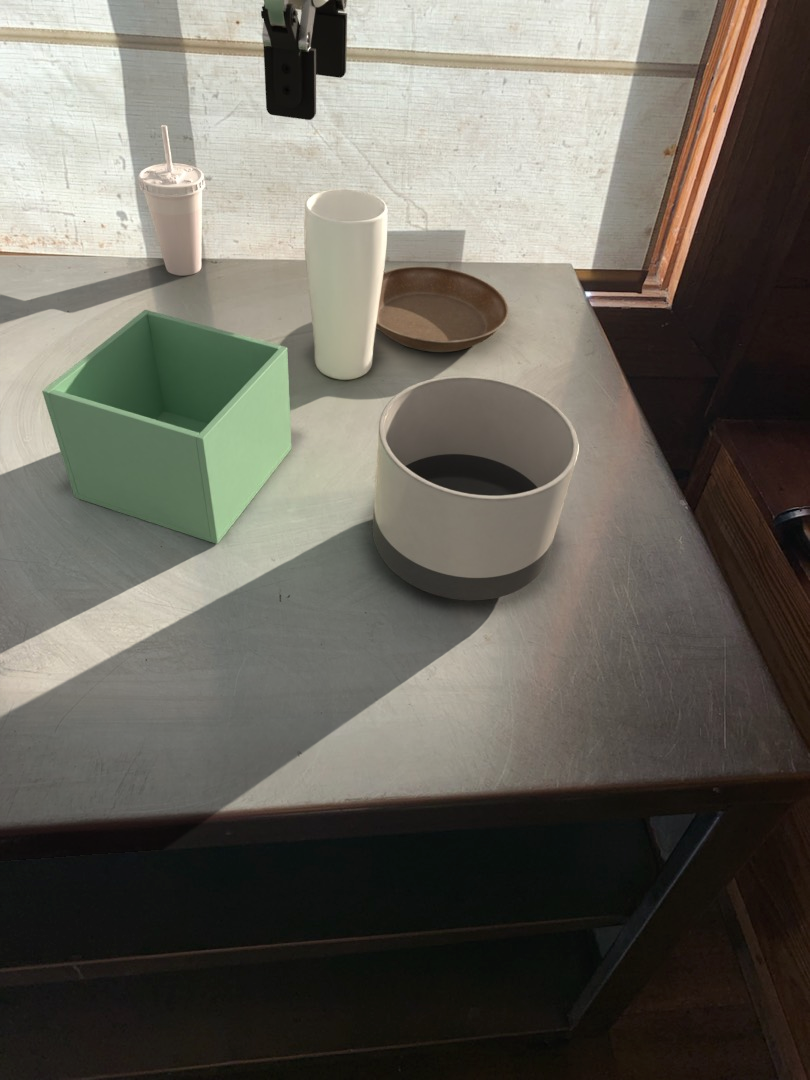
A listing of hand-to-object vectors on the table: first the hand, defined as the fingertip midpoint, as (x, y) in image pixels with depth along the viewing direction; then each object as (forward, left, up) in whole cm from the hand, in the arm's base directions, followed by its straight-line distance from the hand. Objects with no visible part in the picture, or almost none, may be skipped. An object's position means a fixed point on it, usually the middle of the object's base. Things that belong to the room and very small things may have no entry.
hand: (308, 93), depth 55 cm
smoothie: (-21, +13, -24) cm, 34 cm away
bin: (-3, -16, -24) cm, 29 cm away
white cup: (+2, +3, -24) cm, 24 cm away
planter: (+19, -15, -24) cm, 34 cm away
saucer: (+7, +14, -24) cm, 28 cm away
